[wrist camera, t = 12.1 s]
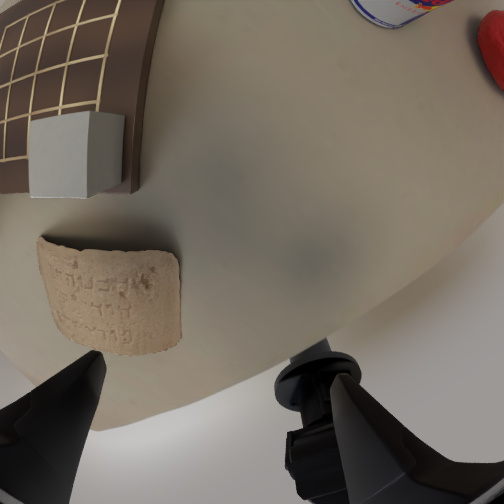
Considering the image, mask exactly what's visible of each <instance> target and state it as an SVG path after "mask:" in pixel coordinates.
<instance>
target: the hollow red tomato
mask: <svg viewBox="0 0 504 504" xmlns="http://www.w3.org/2000/svg"><path fill="white" fill-rule="evenodd" d="M477 38H478V44H479V47H480V51H481V53H482V56H483V58H484V60H485V63H486V66H487V68H488V70H489V72H490V73H491V75H492V76H493V78H494V80H495V81H496V82H497V84H498V86H499V87H500V88H501V89H502V90H503V91H504V11H499V10H494V11H491V12H489V13H488V14H487V15H486V16H485V17H484V18H483V19H482V21H481V24H480V26H479V28H478V35H477Z"/></svg>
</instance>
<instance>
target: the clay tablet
mask: <svg viewBox="0 0 504 504" xmlns="http://www.w3.org/2000/svg"><path fill="white" fill-rule="evenodd" d="M37 252H38V261H39V270H40V274H41V276H42V279H43V281H44V284H45V288H46V292H47V297H48V300H49V304H50V307H51V312H52V315H53V318H54V321H55V322H56V325H57V327H58V329H59V330H60V331H61V332H62V334H65V336H66V337H67V338H68V339H69V340H71V339H72V340H73V341H74V342H75V343H78V344H81V345H89V346H90V347H92V348H93V349H95V350H96V349H97V350H102V351H104V352H109V353H116V354H118V355H128V356H133V355H136V356H137V355H144V354H147V353H156V352H157V351H158V352H161V351H162V350H165V351H166V350H167V349H168V348H171V347H173V346H176V345H177V342H179V340H180V339H181V325H180V294H179V289H180V283H181V282H180V281H179V264H178V259H176V258H175V257H174V255H173V254H172V253H167V252H166V251H160V250H146V251H142V250H141V251H139V252H135V251H128V252H123V251H120V250H119V251H118V250H115V251H114V250H113V251H111V252H109V251H104V250H95V249H85V250H83V251H81V252H80V251H78V250H76V249H70V248H65V247H64V246H63V245H62V246H57V245H55V244H51V242H50V243H48V242H46V240H44V238H42V237H41V236H39V239H38V241H37Z"/></svg>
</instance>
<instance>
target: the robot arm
mask: <svg viewBox="0 0 504 504" xmlns="http://www.w3.org/2000/svg"><path fill="white" fill-rule="evenodd" d="M105 375H106V364H105V361H104V357H103V354H102V353H101V352H99V351H95V350H91V351H89V352H88V353H86V354H85V355H83V356H82V357H81V358H79V359H78V360H76V361H75V362H73V363H72V364H70V365H69V366H67V367H66V368H64V369H63V370H61V371H60V372H58V373H57V374H55V375H54V376H52V377H51V378H49V379H48V380H46V381H45V382H44V383H42V384H41V385H39V386H38V387H36V388H35V389H33V390H32V391H31V392H29V393H27V394H26V395H24V396H23V397H21V398H20V399H18V400H17V401H15V402H13V403H12V404H10V405H8V406H6V407H4V408H3V409H1V410H0V504H69V500H70V496H71V492H72V488H73V483H74V480H75V476H76V472H77V468H78V465H79V461H80V458H81V455H82V451H83V448H84V445H85V441H86V438H87V435H88V432H89V429H90V426H91V423H92V420H93V417H94V414H95V412H96V409H97V406H98V403H99V399H100V395H101V390H102V386H103V382H104V378H105ZM351 375H352V374H351V371H350V370H343V371H312V372H301V373H300V374H299V377H298V379H297V382H296V385H295V388H294V391H293V393H292V396H291V399H290V402H289V403H290V406H299V408H300V413H301V419H302V424H303V428H302V429H299V430H295V431H290V432H287V439H286V454H285V469H286V470H288V471H289V473H290V475H291V477H292V478H293V479H294V480H295V482H296V490H297V494H298V495H299V496H300V497H301V498H302V499H303V500H308V501H309V502H311V503H312V504H504V461H501V462H497V463H463V462H454V461H452V460H449V459H447V458H446V457H444V456H443V455H441V454H440V453H438V452H437V451H435V450H434V449H433V448H431V447H429V446H428V445H427V444H425V443H424V442H423V441H421V440H420V439H419V438H418V437H416V436H415V435H414V434H413V433H412V432H411V431H409V430H408V429H407V428H406V427H404V425H403V424H402V423H400V422H399V421H398V420H397V419H396V418H395V417H394V416H393V415H392V414H391V413H389V412H388V411H387V410H386V409H385V408H384V407H383V406H382V405H381V404H380V403H379V402H378V401H376V400H375V399H374V398H373V397H372V396H371V395H370V394H369V393H368V392H367V391H366V390H365V389H364V388H362V387H361V386H360V385H359V384H358V383H357V382H356V381H355V380H354V379H353V378H352V377H351Z"/></svg>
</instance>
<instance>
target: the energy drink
mask: <svg viewBox="0 0 504 504" xmlns="http://www.w3.org/2000/svg"><path fill="white" fill-rule="evenodd" d="M351 1H352V3H353V5H354V6H355V7H356V9H357V10H358V11H359V12H360V13H361V14H362V15H363V16H364V17H366V18H367V19H368V20H370V21H372V22H373V23H375V24H377V25H380V26H383V27H386V28H392V29H393V28H400V27H403V26H404V25H406V24H408V23H410V22H411V21H413V20H415V19H417V18H419V17H421V16H423V15H425V14H426V13H428V12H430V11H432V10H434V9H436V8H438V7H440V6H443V5H445V4H447V3H449V2H451V1H453V0H351Z"/></svg>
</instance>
